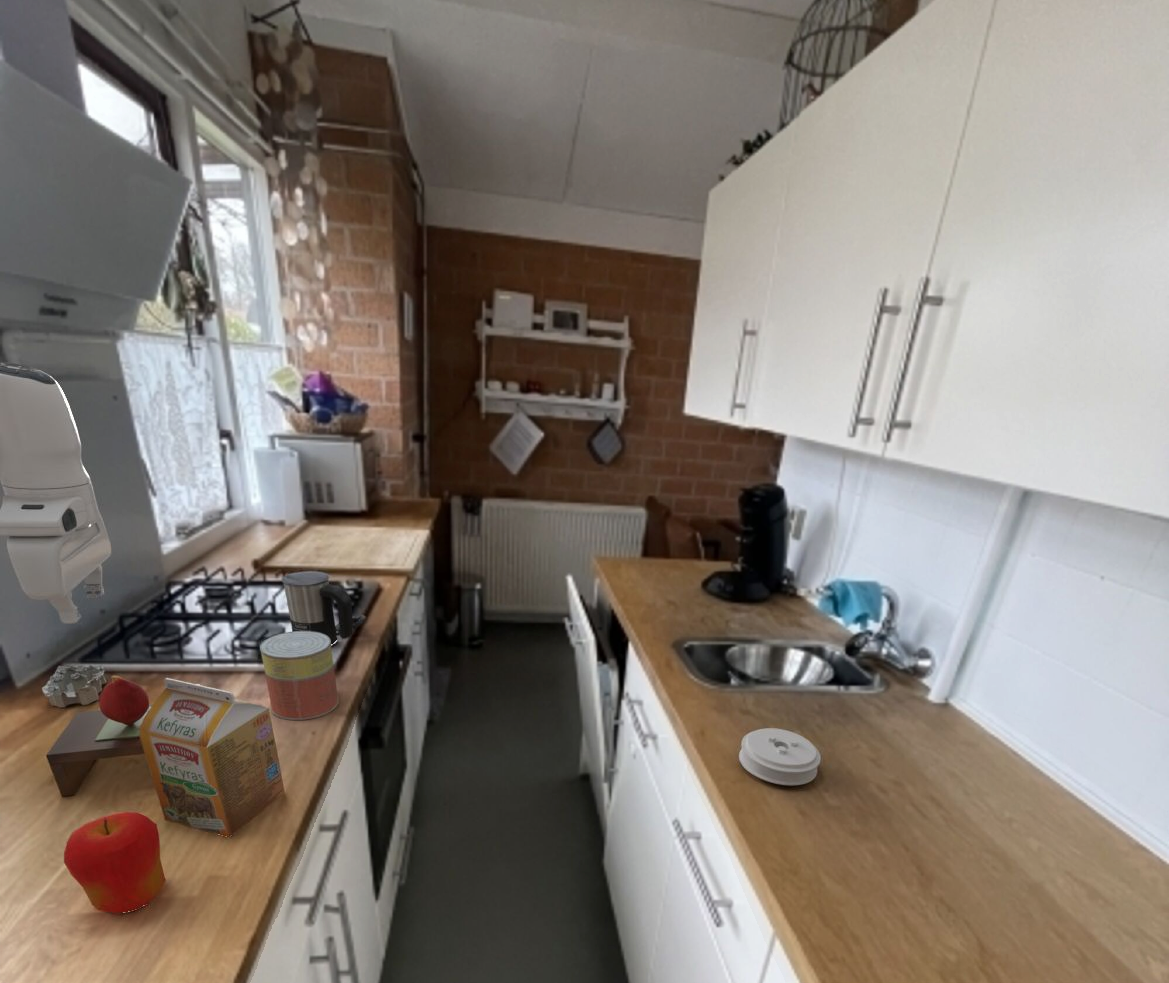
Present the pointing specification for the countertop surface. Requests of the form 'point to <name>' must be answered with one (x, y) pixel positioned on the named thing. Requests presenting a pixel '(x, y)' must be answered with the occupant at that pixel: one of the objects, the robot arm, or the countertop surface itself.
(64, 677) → the egg carton
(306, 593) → the milk frother
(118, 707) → the onion
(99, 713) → the shelf
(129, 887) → the apple
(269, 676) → the canned food
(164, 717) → the milk carton
